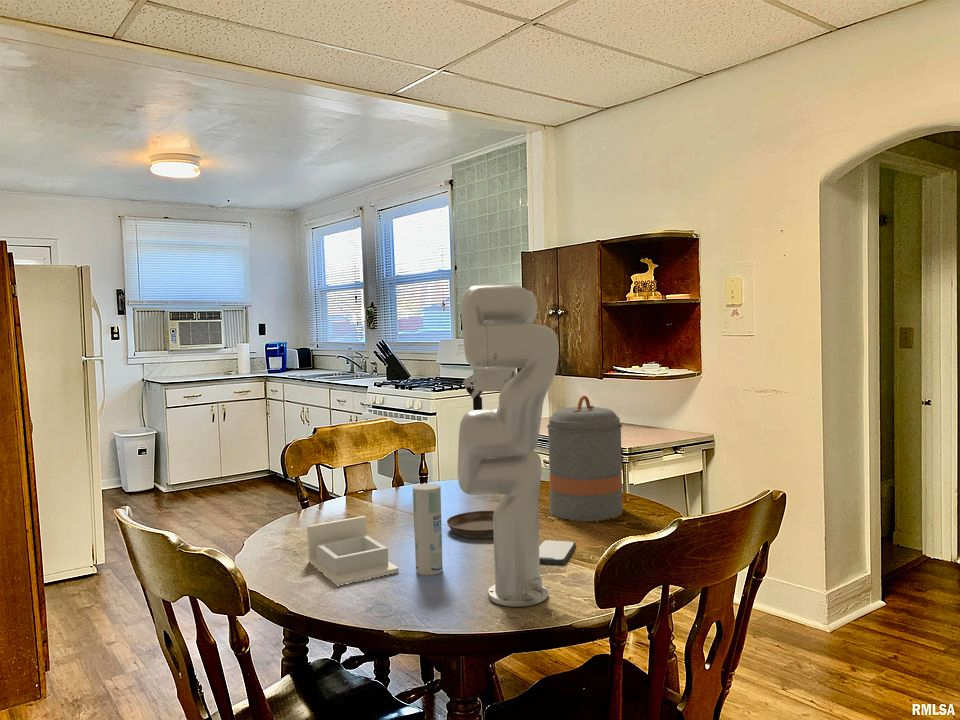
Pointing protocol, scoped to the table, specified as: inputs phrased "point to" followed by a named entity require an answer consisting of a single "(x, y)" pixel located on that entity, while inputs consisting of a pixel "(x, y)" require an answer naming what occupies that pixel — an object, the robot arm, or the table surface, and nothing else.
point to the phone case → (555, 551)
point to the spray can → (427, 528)
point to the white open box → (347, 551)
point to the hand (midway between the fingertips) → (495, 413)
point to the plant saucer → (473, 524)
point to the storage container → (585, 463)
